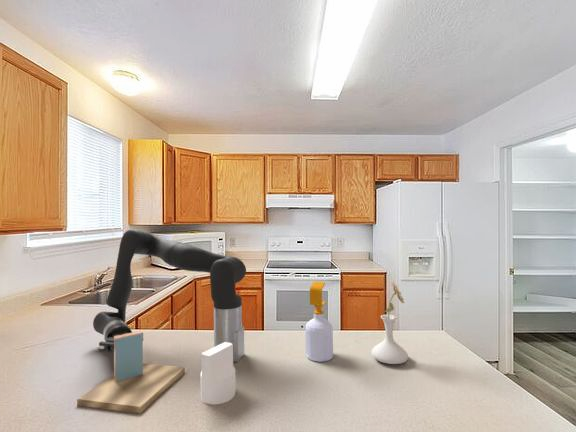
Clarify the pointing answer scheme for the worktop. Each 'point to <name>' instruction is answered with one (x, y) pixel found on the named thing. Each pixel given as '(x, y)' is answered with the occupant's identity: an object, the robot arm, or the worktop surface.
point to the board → (132, 389)
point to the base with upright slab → (217, 374)
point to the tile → (128, 355)
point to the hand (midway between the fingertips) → (127, 350)
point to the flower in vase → (390, 338)
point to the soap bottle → (318, 329)
